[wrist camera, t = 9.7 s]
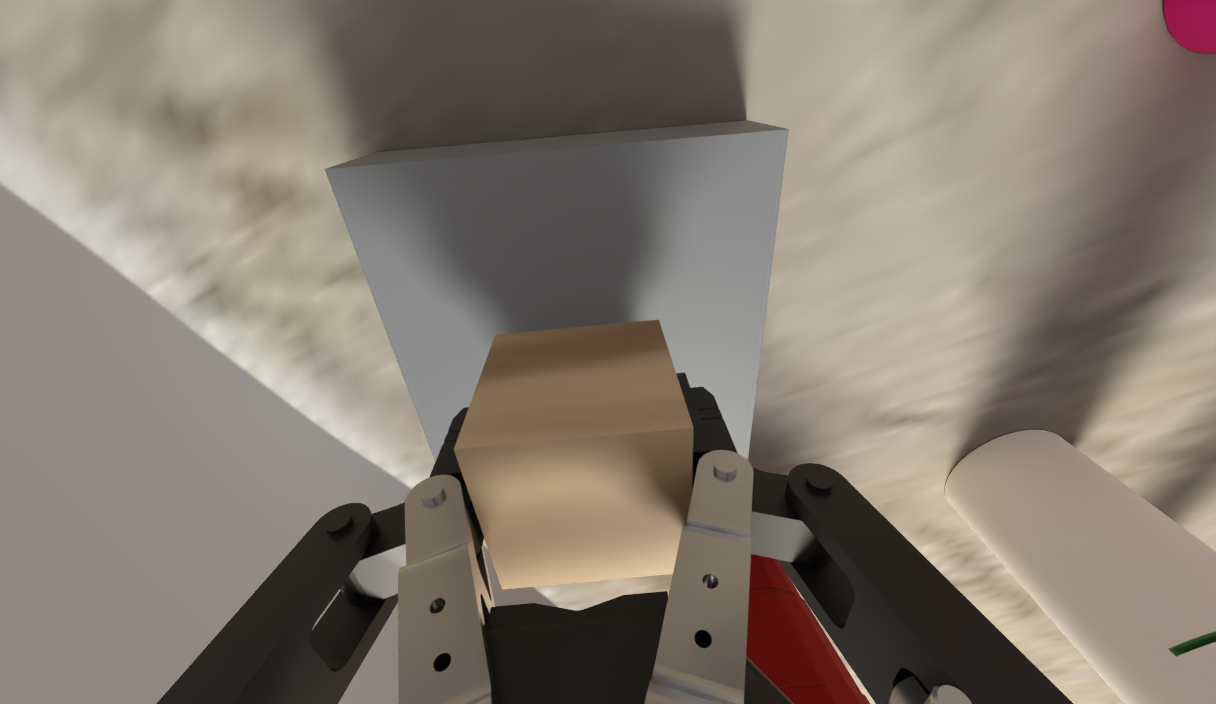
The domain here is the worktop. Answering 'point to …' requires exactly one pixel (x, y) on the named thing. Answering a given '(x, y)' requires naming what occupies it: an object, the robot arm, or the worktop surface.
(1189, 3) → the pepper mill
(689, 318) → the slate plinth
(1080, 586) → the cylindrical container
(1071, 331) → the worktop surface
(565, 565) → the oak cube
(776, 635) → the plastic cup
